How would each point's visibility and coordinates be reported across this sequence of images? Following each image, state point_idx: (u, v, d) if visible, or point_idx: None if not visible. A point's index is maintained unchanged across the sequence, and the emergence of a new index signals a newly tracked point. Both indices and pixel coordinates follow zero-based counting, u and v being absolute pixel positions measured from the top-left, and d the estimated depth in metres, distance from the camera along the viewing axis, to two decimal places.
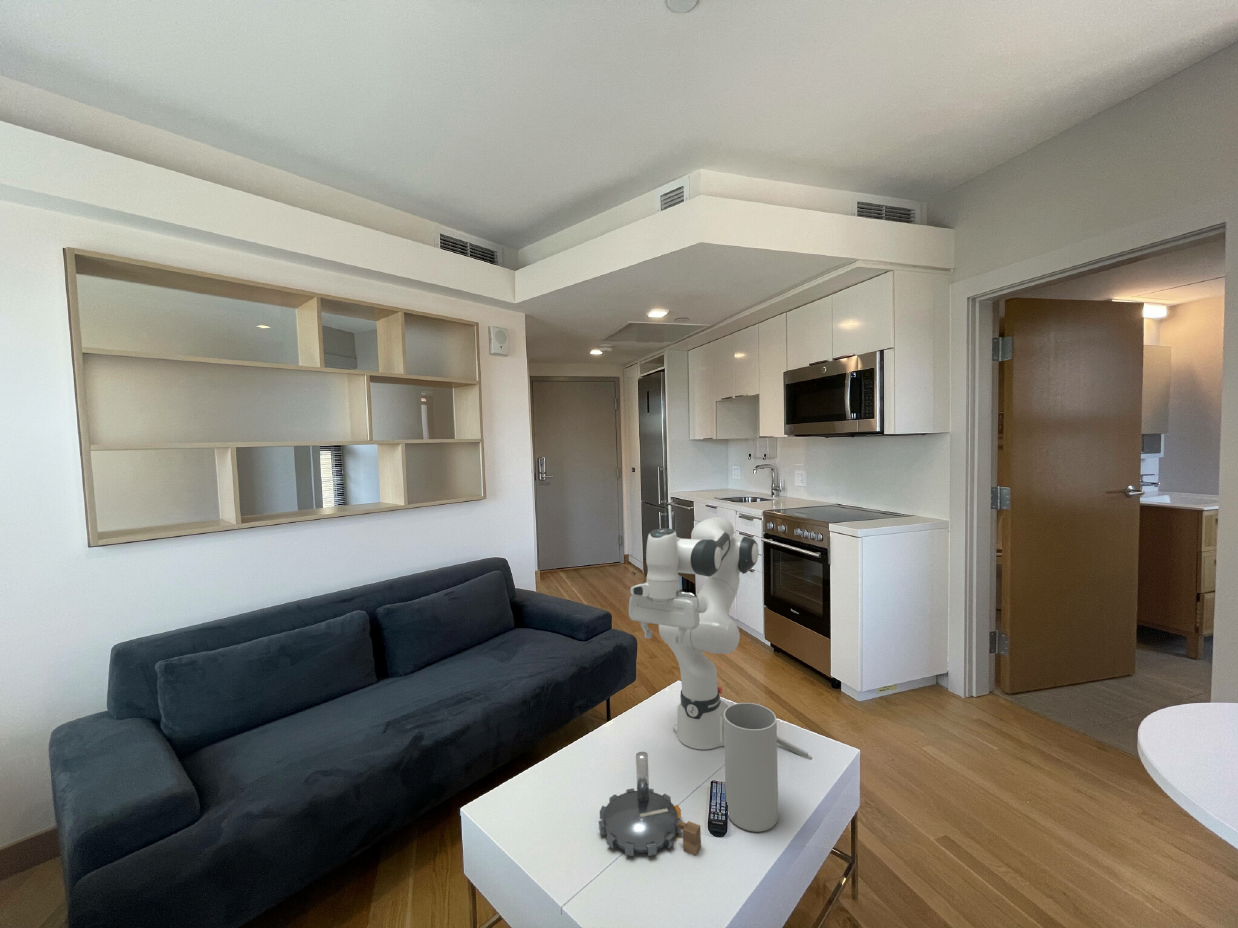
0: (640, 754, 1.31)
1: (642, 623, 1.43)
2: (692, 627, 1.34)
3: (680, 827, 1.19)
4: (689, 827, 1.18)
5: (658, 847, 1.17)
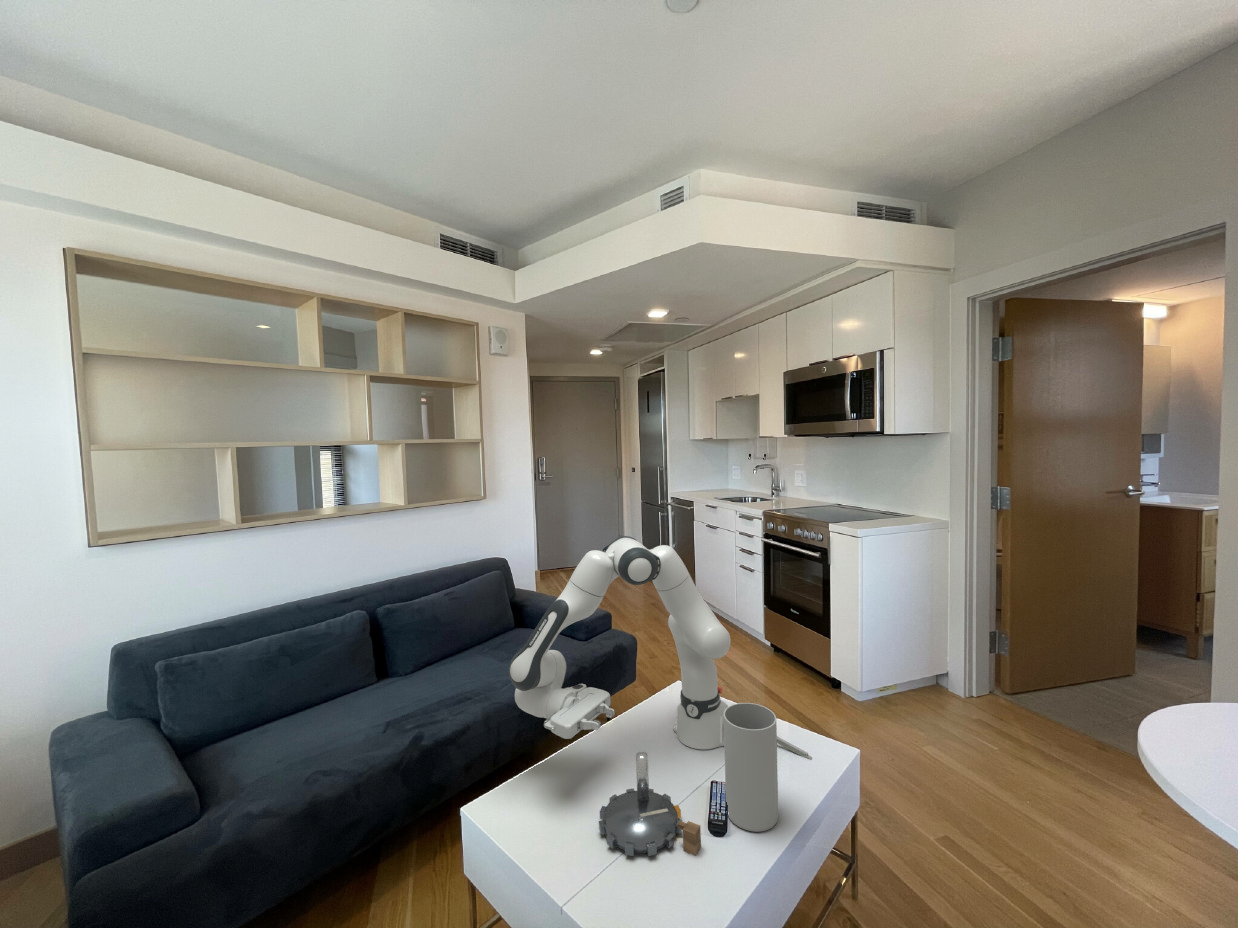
0: (640, 754, 1.31)
1: None
2: None
3: (680, 827, 1.19)
4: (689, 827, 1.18)
5: (658, 847, 1.17)
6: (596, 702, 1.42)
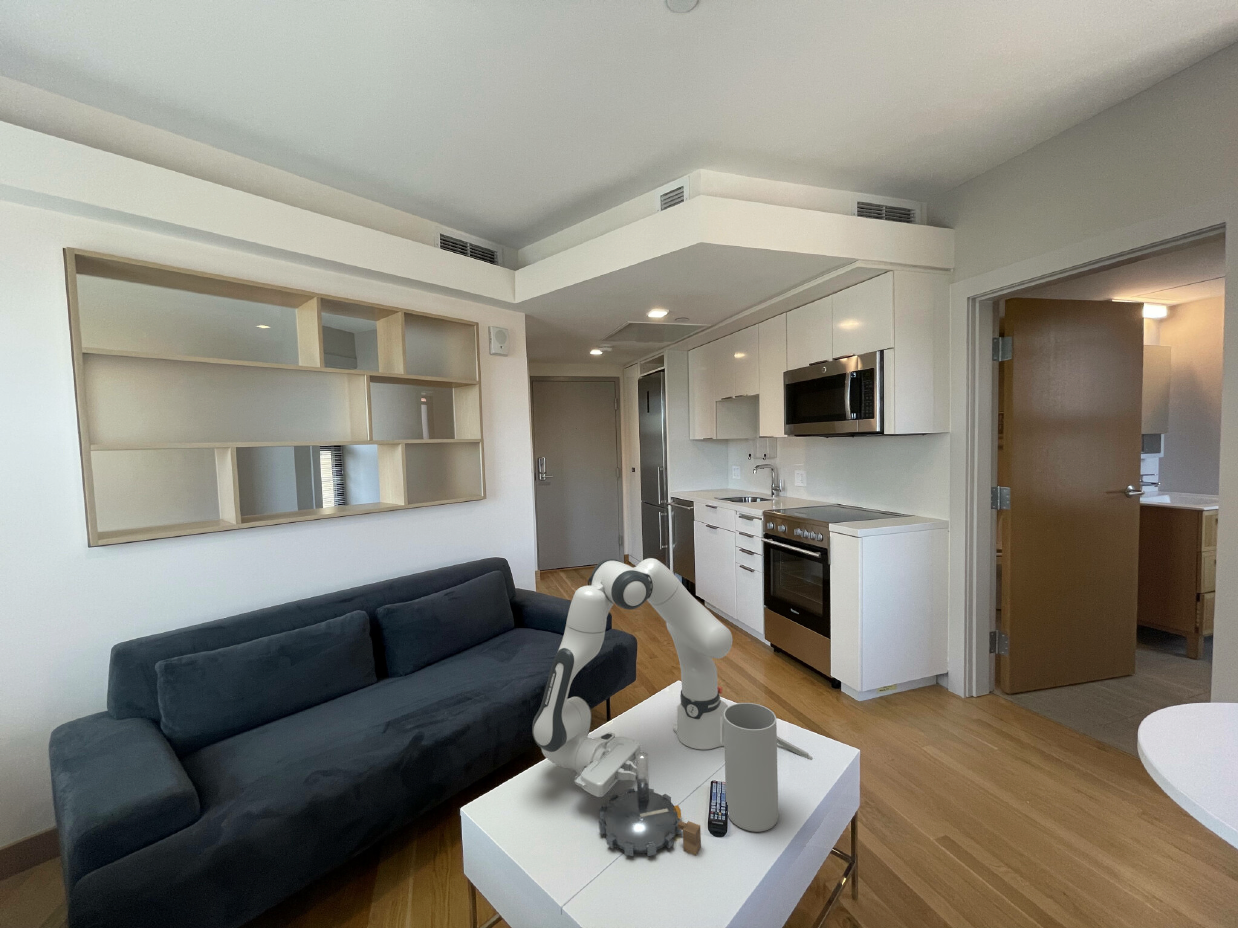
0: (640, 754, 1.31)
1: None
2: (600, 796, 1.27)
3: (680, 827, 1.19)
4: (689, 827, 1.18)
5: (658, 847, 1.17)
6: (626, 754, 1.38)
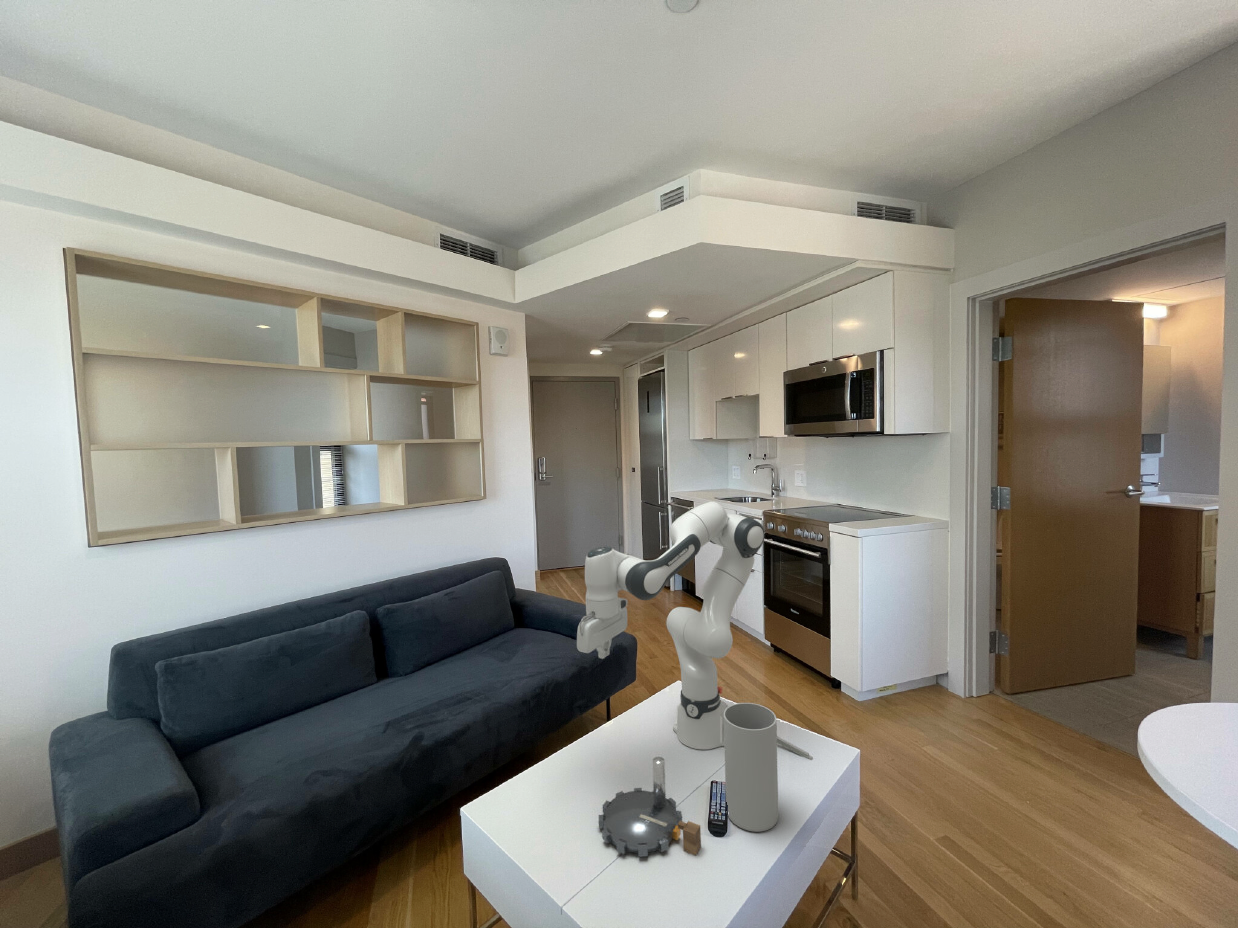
0: (658, 759, 1.29)
1: None
2: None
3: (680, 827, 1.19)
4: (689, 827, 1.18)
5: (630, 849, 1.16)
6: (615, 634, 1.44)
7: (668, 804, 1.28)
